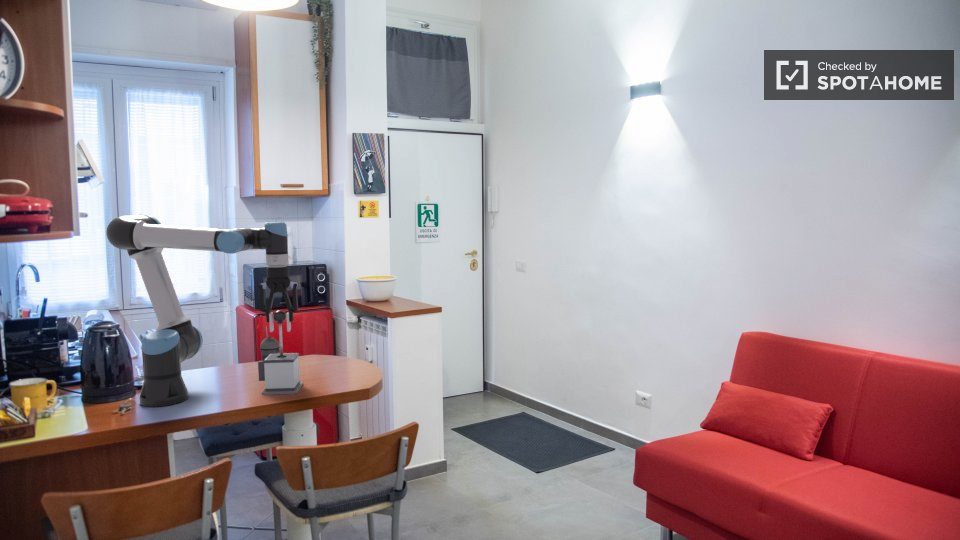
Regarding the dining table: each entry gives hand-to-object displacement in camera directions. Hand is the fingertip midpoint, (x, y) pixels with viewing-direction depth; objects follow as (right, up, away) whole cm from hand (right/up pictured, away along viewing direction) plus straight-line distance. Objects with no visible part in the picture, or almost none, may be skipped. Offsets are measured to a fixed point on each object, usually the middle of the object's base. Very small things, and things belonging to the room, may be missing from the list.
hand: (280, 330), depth 243 cm
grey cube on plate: (-1, -21, +2) cm, 21 cm away
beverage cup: (-9, -20, +19) cm, 29 cm away
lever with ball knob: (0, -12, +1) cm, 12 cm away
